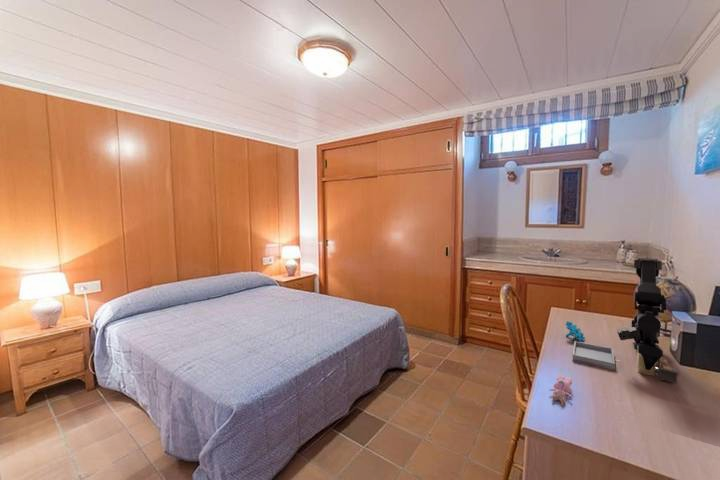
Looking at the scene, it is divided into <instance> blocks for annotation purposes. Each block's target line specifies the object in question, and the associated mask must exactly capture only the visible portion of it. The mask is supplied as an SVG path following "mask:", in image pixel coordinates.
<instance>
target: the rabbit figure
mask: <svg viewBox="0 0 720 480" xmlns="http://www.w3.org/2000/svg"><path fill="white" fill-rule="evenodd" d="M572 384H573V380H572V378H571V377H565V376H564V375H563V374H561V375H558V376H557V378H556V382H555V383H554V384H553V385H552V386H553V388H549V390H548V391H550V392H552V391H553V393H552V399H551V402H553V403H555V401H559V402H560V405H561V406H564V405H565V402H567V401H566V400H567V396H568V397H569V398H573V396H572V395H571V393H572V391H573V390H572V387H571V385H572ZM566 395H567V396H566Z"/></svg>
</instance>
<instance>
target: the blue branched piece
mask: <svg viewBox="0 0 720 480" xmlns="http://www.w3.org/2000/svg"><path fill="white" fill-rule="evenodd" d="M565 326H566V329H567V330H569V333H567V334H565V337H566V338H568V337H571V336H573V337H574V338H575V339H577V340H578V342H584V341H585V339H586V337H584V333H583V332H581V331H582V330H581V327H577V325H576V324H573V322H572V321H569V320H567V321H566V322H565Z"/></svg>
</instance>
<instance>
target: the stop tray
mask: <svg viewBox="0 0 720 480" xmlns="http://www.w3.org/2000/svg"><path fill="white" fill-rule="evenodd" d="M572 351H573V352H572V362H573V361H574V362H577V363H581V364H586V365H591V366H596V367H599V368H604V369H608V370H609V369H610V370H612V371H615V370H616V368H615V367H616V363H615V361H616V360H615V355H614V348H612V347H608V346H607V347H606V346H602V345H596V344H592V343H586V342H582V341H576V340H574V343H573V350H572Z"/></svg>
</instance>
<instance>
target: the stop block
mask: <svg viewBox="0 0 720 480" xmlns="http://www.w3.org/2000/svg"><path fill="white" fill-rule="evenodd" d="M636 357H637V358H636V370H637V373H639V374H644V375H649V376H655V373H656V372H655V364H654V366H653V367H652V368H651V369H650V370H646V369H645V364H644V359H643V356H642V355H641V354H639V353H638V350H637V355H636Z"/></svg>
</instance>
